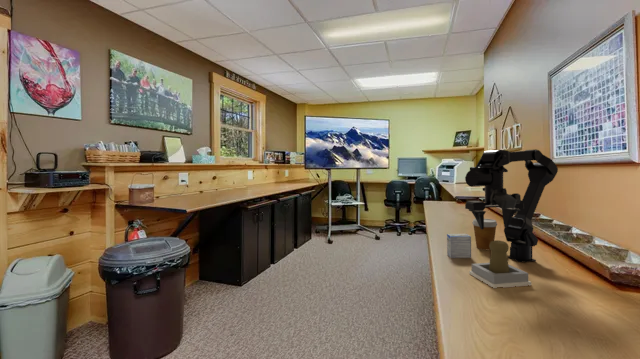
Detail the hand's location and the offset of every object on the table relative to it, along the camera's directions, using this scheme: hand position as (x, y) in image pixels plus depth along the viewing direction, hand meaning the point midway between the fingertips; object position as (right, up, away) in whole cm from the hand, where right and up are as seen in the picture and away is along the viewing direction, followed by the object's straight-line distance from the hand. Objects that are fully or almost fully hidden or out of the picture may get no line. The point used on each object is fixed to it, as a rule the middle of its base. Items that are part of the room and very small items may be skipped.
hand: (494, 228), depth 108 cm
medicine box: (-8, -13, +11) cm, 19 cm away
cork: (-6, -13, -13) cm, 19 cm away
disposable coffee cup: (+8, -12, +22) cm, 26 cm away
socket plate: (-6, -14, -13) cm, 20 cm away
